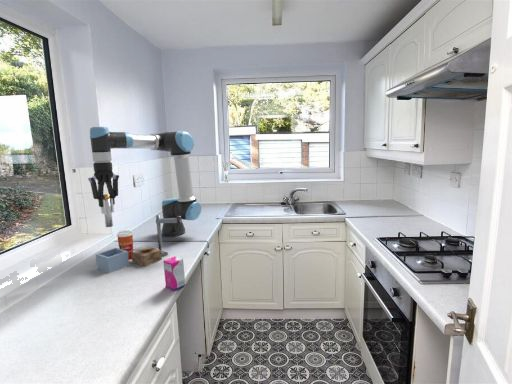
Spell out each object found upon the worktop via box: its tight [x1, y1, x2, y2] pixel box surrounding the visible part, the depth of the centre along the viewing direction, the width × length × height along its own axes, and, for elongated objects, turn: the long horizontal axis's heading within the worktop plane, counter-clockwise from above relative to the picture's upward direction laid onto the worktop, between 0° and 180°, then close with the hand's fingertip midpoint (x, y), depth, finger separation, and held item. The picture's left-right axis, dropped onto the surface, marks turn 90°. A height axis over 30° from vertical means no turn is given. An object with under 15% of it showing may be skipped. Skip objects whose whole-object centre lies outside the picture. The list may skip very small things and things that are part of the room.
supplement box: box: [162, 256, 186, 292], centre depth 119 cm, size 6×6×12 cm
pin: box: [103, 193, 114, 228], centre depth 137 cm, size 3×3×15 cm
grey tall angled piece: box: [155, 214, 181, 253], centre depth 153 cm, size 13×2×20 cm, turn 92°
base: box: [162, 250, 169, 258], centre depth 154 cm, size 5×5×1 cm
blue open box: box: [95, 247, 130, 274], centre depth 141 cm, size 10×10×7 cm
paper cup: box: [116, 229, 134, 261], centre depth 150 cm, size 8×8×14 cm
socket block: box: [131, 246, 163, 267], centre depth 147 cm, size 10×10×5 cm
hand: (107, 212), depth 137 cm, fingers closed on pin, 3 cm apart
